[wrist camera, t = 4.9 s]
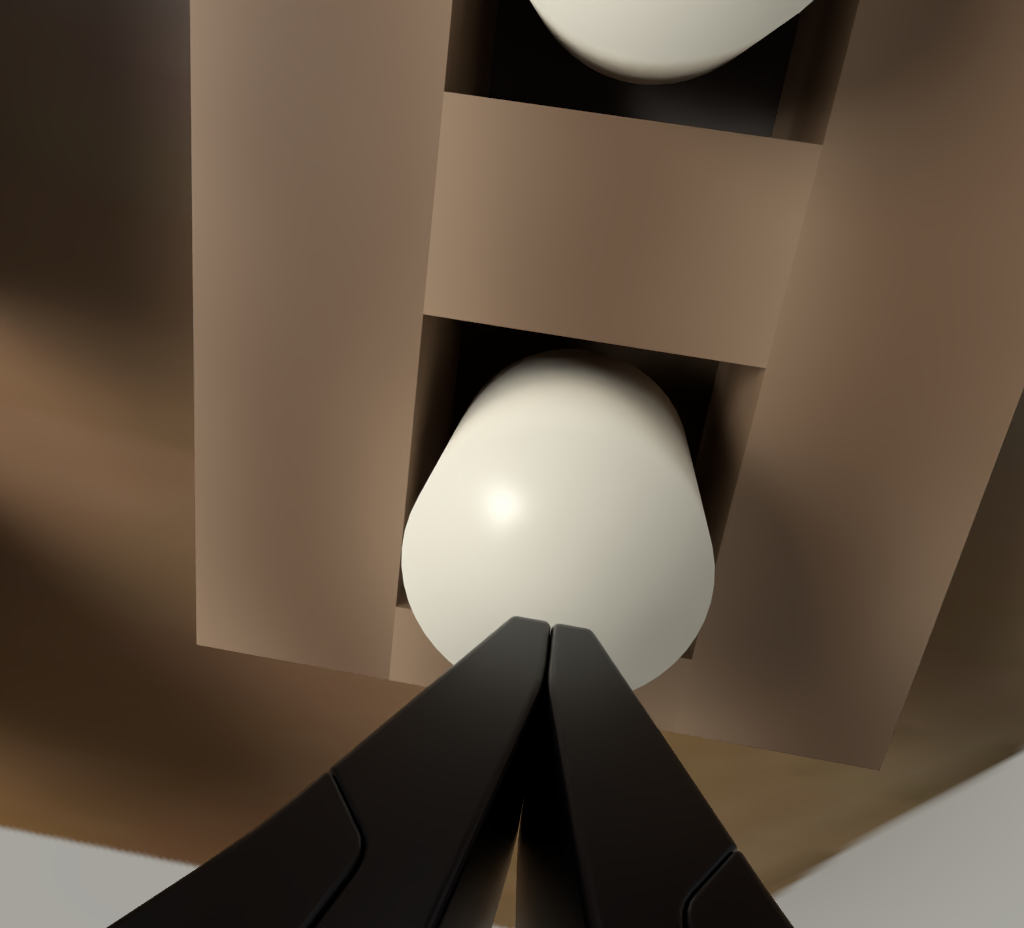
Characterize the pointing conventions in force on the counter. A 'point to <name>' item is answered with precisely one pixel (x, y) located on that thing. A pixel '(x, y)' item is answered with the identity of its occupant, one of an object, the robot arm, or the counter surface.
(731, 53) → the button middle
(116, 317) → the counter surface
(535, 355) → the button
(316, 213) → the board
